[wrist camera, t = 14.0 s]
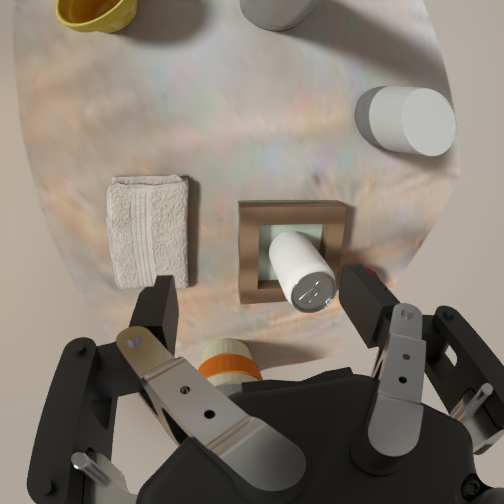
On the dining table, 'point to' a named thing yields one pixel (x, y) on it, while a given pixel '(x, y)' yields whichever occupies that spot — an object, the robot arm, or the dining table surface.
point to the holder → (273, 224)
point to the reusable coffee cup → (228, 365)
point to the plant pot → (96, 14)
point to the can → (302, 272)
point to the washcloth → (148, 229)
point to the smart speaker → (406, 120)
